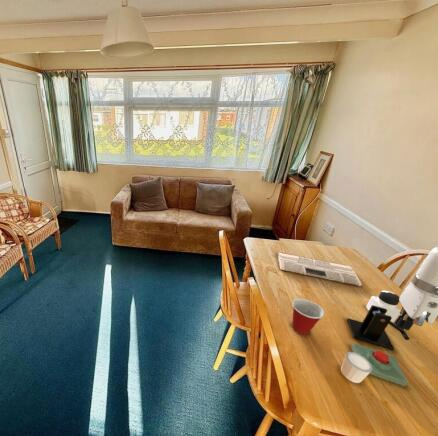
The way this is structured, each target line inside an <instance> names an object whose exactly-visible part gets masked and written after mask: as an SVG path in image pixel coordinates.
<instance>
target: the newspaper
mask: <svg viewBox="0 0 438 436" xmlns="http://www.w3.org/2000/svg"><path fill="white" fill-rule="evenodd" d="M277 259H278V265H279V268H280V270H282V271H285V272H291V273H296V274H301V275H306V276H310V277H315V278H319V279H324V280H327V281H328V280H330V281H333V282H339V283H343V284H348V285H353V286H357V287H362V281H361V279H360V278H359V277H358V275H357V273H356V271H355V270H354V269H353V268H352V266H349V265H345V264H341V263H340V264H339V263H335V262H328V261H325V260H324V261H323V260H319V259H313V258H308V257H303V256H298V255H292V254H288V253H281V252H277Z"/></svg>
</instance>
